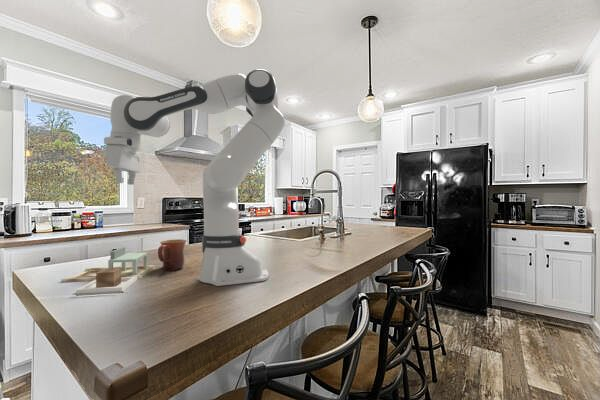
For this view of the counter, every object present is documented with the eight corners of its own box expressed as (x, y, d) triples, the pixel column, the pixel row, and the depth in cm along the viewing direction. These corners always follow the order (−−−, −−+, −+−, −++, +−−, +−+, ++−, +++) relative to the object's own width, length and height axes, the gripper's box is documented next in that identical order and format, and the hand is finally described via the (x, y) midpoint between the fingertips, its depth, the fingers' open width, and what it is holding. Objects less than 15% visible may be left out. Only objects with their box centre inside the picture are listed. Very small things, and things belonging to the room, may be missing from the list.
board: (154, 269, 102) (154, 265, 102) (140, 280, 88) (140, 275, 88) (86, 272, 98) (86, 268, 98) (61, 283, 84) (61, 279, 84)
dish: (137, 281, 87) (137, 276, 87) (122, 293, 76) (122, 287, 76) (97, 283, 85) (97, 278, 85) (76, 295, 74) (76, 289, 74)
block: (120, 283, 83) (120, 268, 83) (113, 288, 79) (113, 272, 79) (104, 284, 82) (104, 268, 82) (96, 288, 78) (96, 272, 78)
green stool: (147, 268, 100) (147, 246, 100) (135, 276, 90) (136, 251, 90) (123, 269, 99) (123, 246, 99) (108, 278, 88) (108, 252, 88)
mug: (170, 265, 108) (170, 239, 108) (191, 266, 106) (191, 239, 106) (148, 273, 96) (148, 243, 96) (170, 274, 95) (170, 244, 95)
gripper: (127, 148, 106) (127, 185, 106) (101, 137, 86) (100, 181, 86) (145, 149, 107) (145, 185, 107) (123, 138, 87) (123, 182, 87)
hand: (125, 183), depth 96 cm, fingers open, 8 cm apart
